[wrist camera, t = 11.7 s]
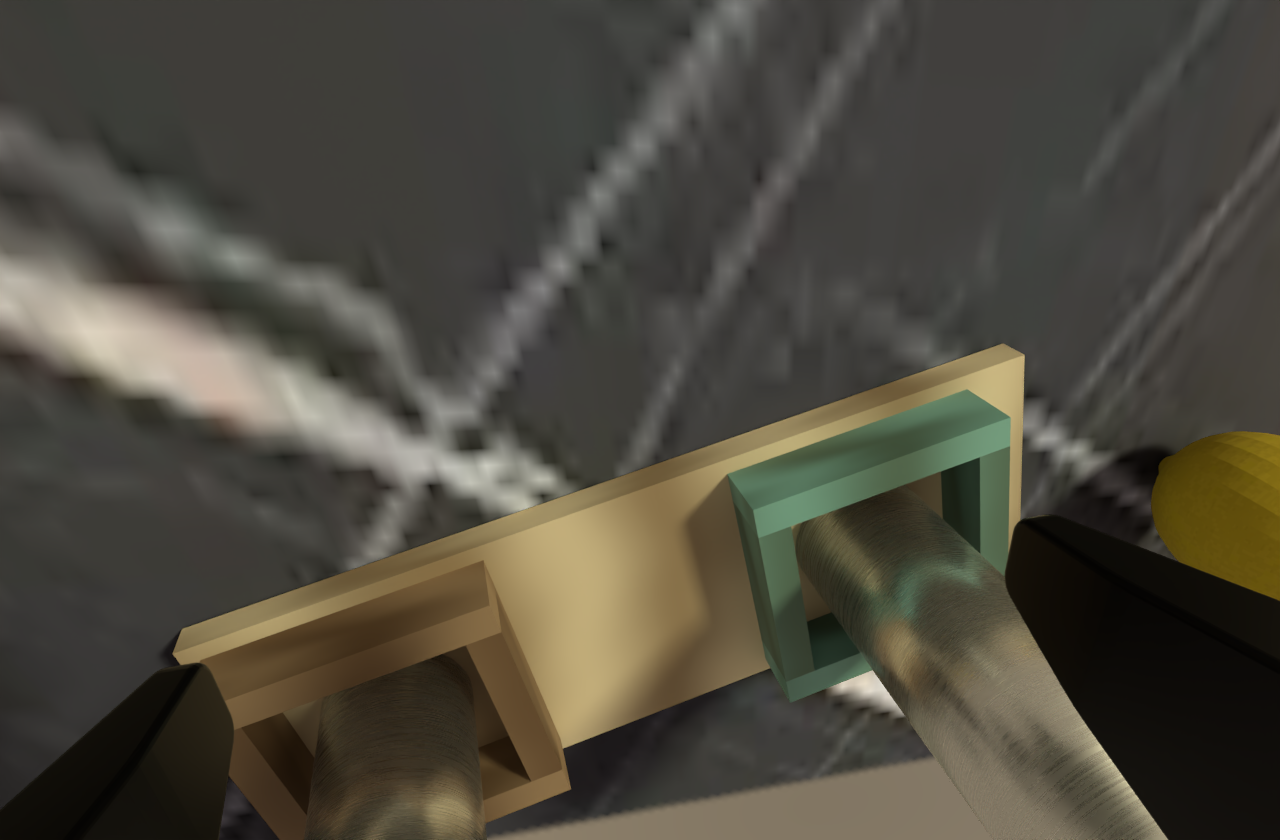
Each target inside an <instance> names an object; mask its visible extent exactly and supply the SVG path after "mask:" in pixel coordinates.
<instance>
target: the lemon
mask: <svg viewBox="0 0 1280 840" xmlns="http://www.w3.org/2000/svg"><path fill="white" fill-rule="evenodd" d="M1158 469H1159V475H1158V476H1157V479H1156V481H1155V484H1154V487H1153V490H1152V498H1151V509H1152V515H1153V519H1154V524H1155V527H1156V529H1157V531H1158V534H1159V535H1160V537H1161V538H1162V540H1163V541H1164V543H1165V545H1166V546H1167V548H1168V549H1169V551H1170V552H1171V553H1172V554H1173V555H1174V557H1175V558H1176V559H1177V560H1178V561H1179V562H1180V563H1183V564H1186V565H1188V566H1191V567H1193V568H1196V569H1199V570H1201V571H1204V572H1206V573H1209V574H1212V575H1214V576H1217V577H1219V578H1222V579H1225V580H1227V581H1230V582H1232V583H1235V584H1238V585H1240V586H1243V587H1245V588H1248V589H1251V590H1253V591H1256V592H1258V593H1261V594H1264V595H1266V596H1269V597H1272V598H1274V599H1277V600H1279V601H1280V436H1279V435H1273V434H1268V433H1257V432H1244V431H1241V432H1228V433H1222V434H1217V435H1212V436H1208V437H1205V438H1202V439H1200V440H1198V441H1195V442H1193V443H1191V444H1189V445H1188V446H1186V447H1185V448H1183V449H1182V450H1180V451H1179V452H1177V453H1176V454H1175V455H1172V456H1168V457H1166V458H1164V459H1163V460H1162V461H1161V462H1160V464H1159V467H1158Z"/></svg>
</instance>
